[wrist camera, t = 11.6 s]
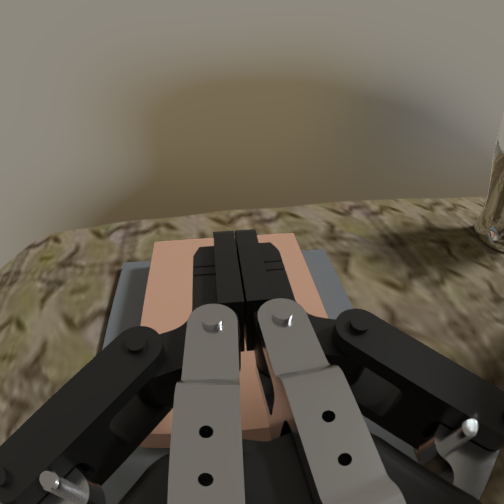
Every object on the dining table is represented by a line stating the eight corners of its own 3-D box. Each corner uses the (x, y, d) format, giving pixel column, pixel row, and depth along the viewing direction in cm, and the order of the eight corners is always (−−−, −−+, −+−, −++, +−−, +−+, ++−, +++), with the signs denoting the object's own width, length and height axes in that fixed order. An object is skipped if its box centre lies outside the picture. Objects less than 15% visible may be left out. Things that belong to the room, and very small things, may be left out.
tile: (349, 428, 13) (290, 256, 24) (362, 409, 12) (293, 233, 23) (143, 448, 12) (159, 265, 23) (129, 433, 11) (155, 241, 22)
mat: (323, 255, 26) (324, 249, 25) (424, 500, 10) (430, 497, 9) (125, 268, 24) (123, 262, 24) (88, 539, 8) (83, 538, 8)
